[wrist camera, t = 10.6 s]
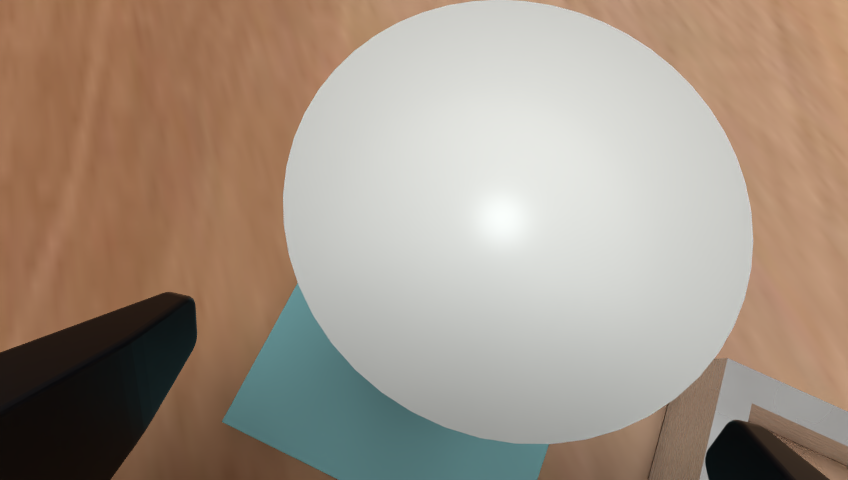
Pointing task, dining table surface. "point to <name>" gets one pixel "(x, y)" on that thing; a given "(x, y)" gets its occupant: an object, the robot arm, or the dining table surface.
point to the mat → (355, 416)
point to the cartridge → (518, 222)
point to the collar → (742, 418)
